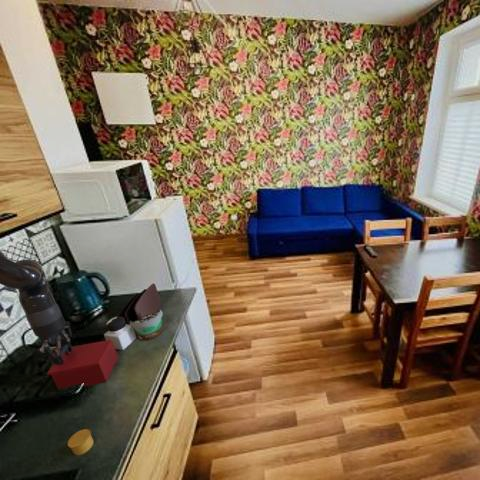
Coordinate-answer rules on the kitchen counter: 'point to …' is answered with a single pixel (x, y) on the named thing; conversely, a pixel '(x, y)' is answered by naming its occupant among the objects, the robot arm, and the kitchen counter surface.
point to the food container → (148, 326)
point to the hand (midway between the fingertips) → (64, 357)
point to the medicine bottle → (120, 333)
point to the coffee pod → (81, 442)
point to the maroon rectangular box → (88, 372)
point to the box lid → (81, 356)
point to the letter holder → (141, 305)
